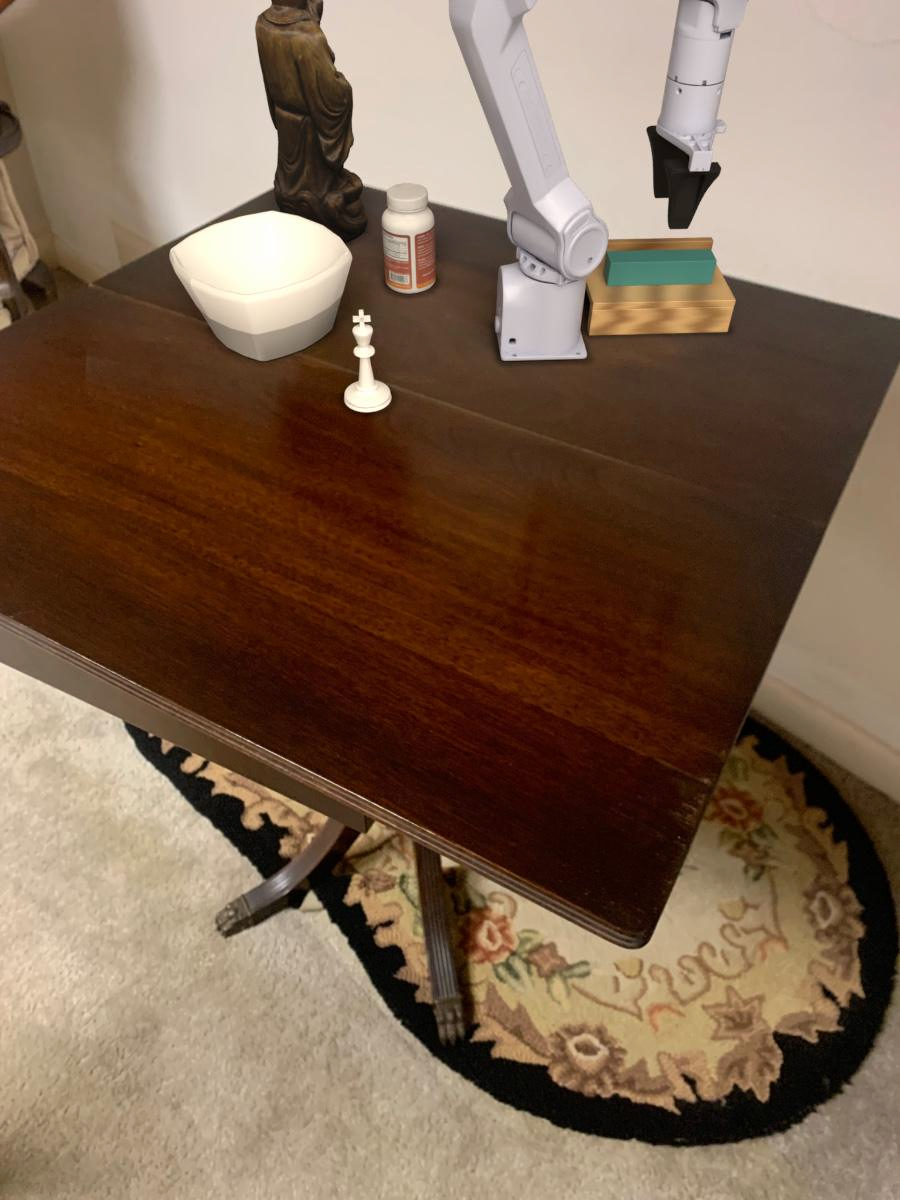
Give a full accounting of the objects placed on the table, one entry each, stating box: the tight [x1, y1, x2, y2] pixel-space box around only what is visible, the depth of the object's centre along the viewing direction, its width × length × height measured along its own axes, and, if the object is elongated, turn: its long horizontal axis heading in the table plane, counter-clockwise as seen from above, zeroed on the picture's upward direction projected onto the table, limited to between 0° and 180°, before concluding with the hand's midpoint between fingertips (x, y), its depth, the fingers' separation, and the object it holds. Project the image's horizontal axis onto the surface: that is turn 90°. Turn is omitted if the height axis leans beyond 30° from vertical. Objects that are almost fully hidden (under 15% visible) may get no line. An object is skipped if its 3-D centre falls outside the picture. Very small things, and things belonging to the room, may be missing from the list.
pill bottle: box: [381, 182, 437, 295], centre depth 104 cm, size 6×6×11 cm
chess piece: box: [343, 309, 392, 413], centre depth 88 cm, size 5×5×10 cm
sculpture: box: [254, 0, 368, 243], centre depth 108 cm, size 12×13×30 cm
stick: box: [603, 249, 718, 286], centre depth 100 cm, size 12×3×3 cm, turn 93°
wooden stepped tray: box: [585, 236, 737, 336], centre depth 103 cm, size 16×12×6 cm
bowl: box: [168, 210, 353, 362], centre depth 98 cm, size 18×18×9 cm
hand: (670, 212), depth 98 cm, fingers open, 7 cm apart
